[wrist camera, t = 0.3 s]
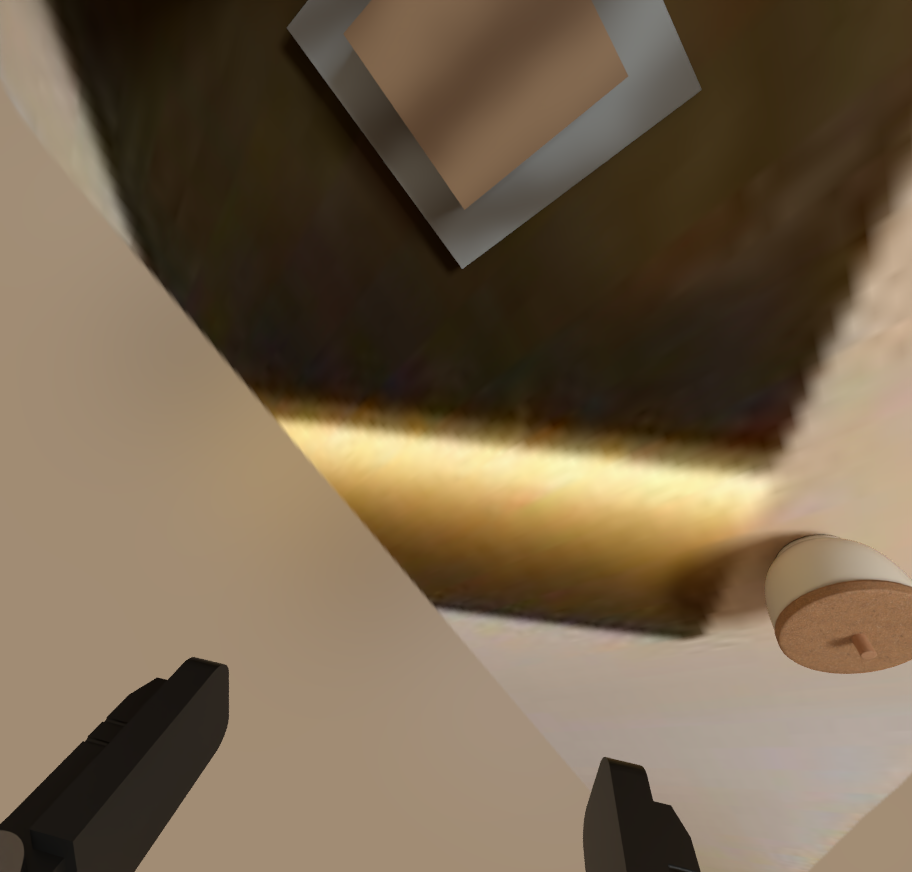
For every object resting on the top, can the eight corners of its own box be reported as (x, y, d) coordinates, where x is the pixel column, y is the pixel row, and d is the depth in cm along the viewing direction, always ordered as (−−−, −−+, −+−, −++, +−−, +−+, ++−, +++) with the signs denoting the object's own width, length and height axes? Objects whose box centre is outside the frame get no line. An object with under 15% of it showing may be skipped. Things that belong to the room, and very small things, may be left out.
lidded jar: (861, 599, 46) (923, 699, 39) (736, 594, 48) (772, 688, 41) (905, 515, 40) (988, 614, 33) (761, 513, 42) (807, 606, 35)
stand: (295, 30, 28) (260, 21, 25) (535, -276, 21) (533, -348, 17) (464, 263, 34) (455, 283, 31) (696, 89, 27) (717, 89, 23)
